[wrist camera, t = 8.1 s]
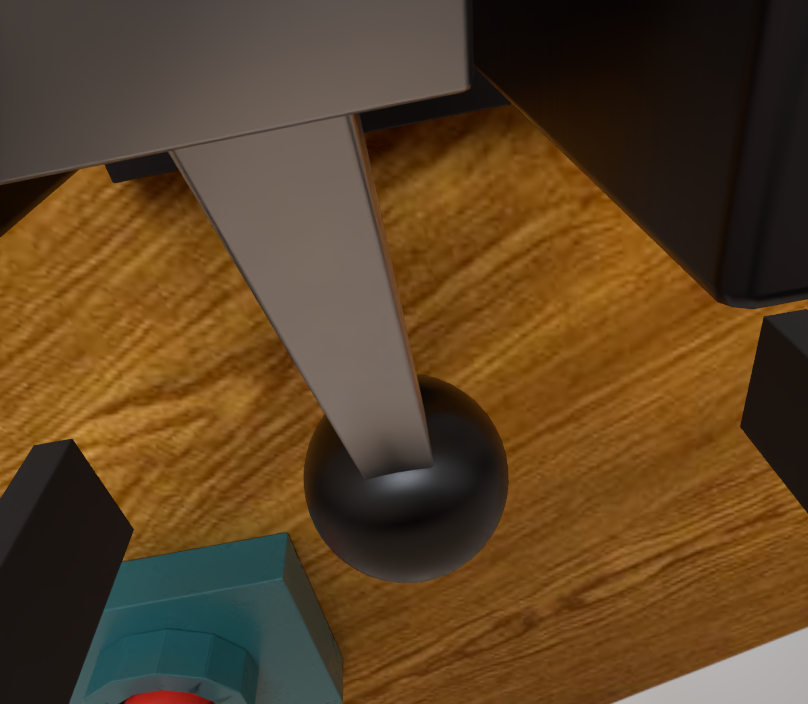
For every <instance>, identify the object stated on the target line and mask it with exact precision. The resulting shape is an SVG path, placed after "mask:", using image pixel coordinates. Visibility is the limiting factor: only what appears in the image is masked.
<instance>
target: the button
mask: <svg viewBox="0 0 808 704" xmlns="http://www.w3.org/2000/svg"><path fill="white" fill-rule="evenodd" d="M124 704H215V703H214V702H212V701H210V700H208V699H205V698H203V697H200V696H198V695H195V694H193V693H187V692H176V691H165V690H160V691H154V692H148V693H143V694H137V695H133V696H131V697H129V698H128V699H126V701H125V702H124Z"/></svg>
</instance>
